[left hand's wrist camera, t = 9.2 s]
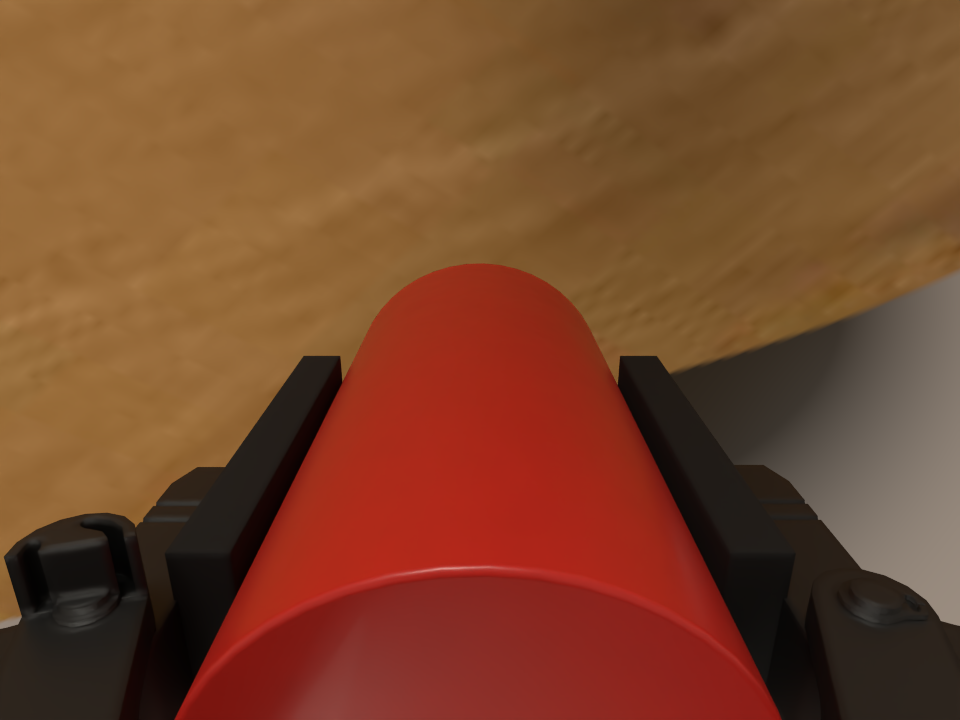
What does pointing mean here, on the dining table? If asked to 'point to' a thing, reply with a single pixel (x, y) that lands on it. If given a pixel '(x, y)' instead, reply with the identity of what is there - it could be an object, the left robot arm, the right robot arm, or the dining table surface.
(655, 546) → the canister
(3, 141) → the dining table surface
